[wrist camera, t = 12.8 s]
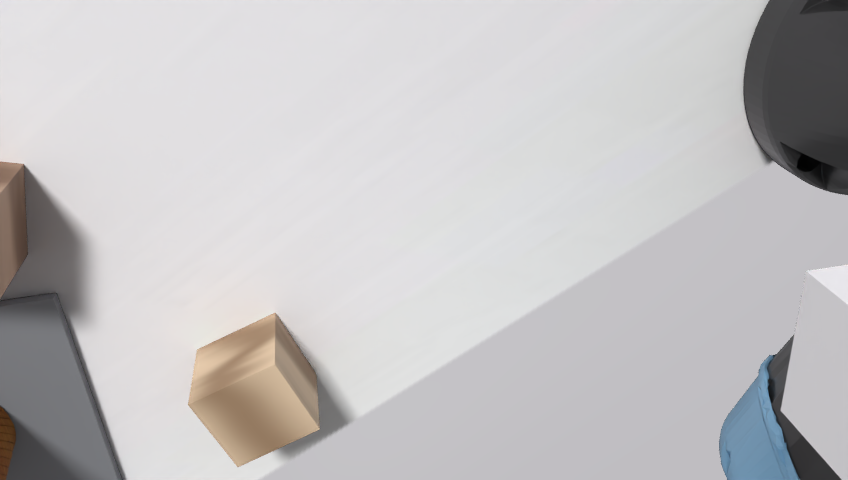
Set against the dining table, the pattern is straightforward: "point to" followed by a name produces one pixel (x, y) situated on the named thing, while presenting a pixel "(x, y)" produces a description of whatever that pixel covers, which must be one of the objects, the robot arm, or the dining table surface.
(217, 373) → the block
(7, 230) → the block
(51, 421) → the mat
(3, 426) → the disposable coffee cup
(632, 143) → the dining table surface
